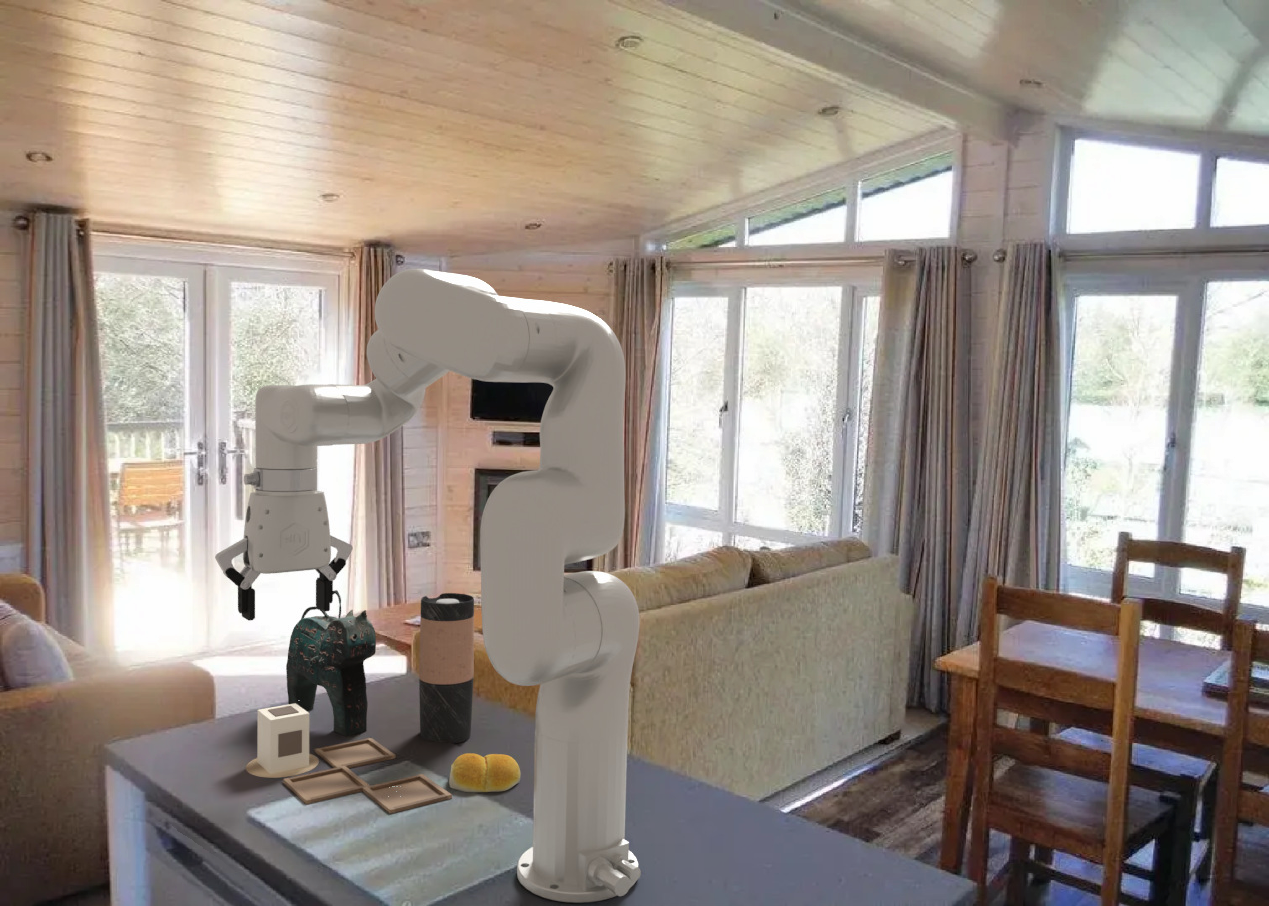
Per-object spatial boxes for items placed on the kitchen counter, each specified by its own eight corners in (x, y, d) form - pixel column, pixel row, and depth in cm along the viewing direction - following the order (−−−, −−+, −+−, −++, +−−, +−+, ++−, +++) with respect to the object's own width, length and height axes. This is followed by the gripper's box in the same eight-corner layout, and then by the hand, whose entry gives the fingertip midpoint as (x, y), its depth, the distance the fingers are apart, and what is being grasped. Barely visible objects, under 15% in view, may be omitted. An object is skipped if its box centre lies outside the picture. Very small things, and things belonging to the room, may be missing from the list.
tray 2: (370, 792, 126) (370, 785, 126) (306, 807, 121) (306, 800, 121) (344, 771, 133) (345, 765, 133) (283, 785, 128) (283, 779, 128)
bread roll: (522, 795, 127) (522, 764, 127) (448, 799, 126) (449, 767, 125) (518, 770, 135) (518, 741, 135) (449, 773, 134) (449, 743, 133)
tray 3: (451, 801, 124) (452, 794, 124) (390, 816, 119) (390, 810, 119) (422, 780, 131) (422, 773, 131) (362, 794, 126) (362, 787, 126)
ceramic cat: (379, 735, 147) (381, 597, 145) (338, 745, 142) (339, 603, 141) (312, 702, 161) (313, 576, 159) (273, 710, 156) (273, 580, 155)
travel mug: (467, 746, 143) (469, 604, 142) (412, 744, 143) (414, 603, 142) (476, 728, 151) (479, 593, 149) (425, 726, 151) (426, 592, 150)
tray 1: (395, 760, 137) (395, 755, 137) (337, 773, 132) (337, 767, 132) (370, 743, 143) (371, 737, 143) (314, 754, 138) (314, 748, 138)
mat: (329, 770, 133) (329, 767, 133) (258, 785, 127) (258, 782, 127) (304, 750, 140) (304, 747, 140) (236, 763, 134) (236, 760, 134)
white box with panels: (309, 766, 133) (309, 712, 133) (270, 774, 130) (270, 719, 130) (295, 754, 137) (295, 702, 137) (257, 762, 134) (257, 709, 134)
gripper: (225, 487, 123) (225, 628, 124) (362, 481, 134) (361, 611, 135) (207, 481, 129) (208, 616, 130) (340, 477, 139) (339, 601, 141)
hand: (286, 613), depth 132 cm, fingers open, 9 cm apart
